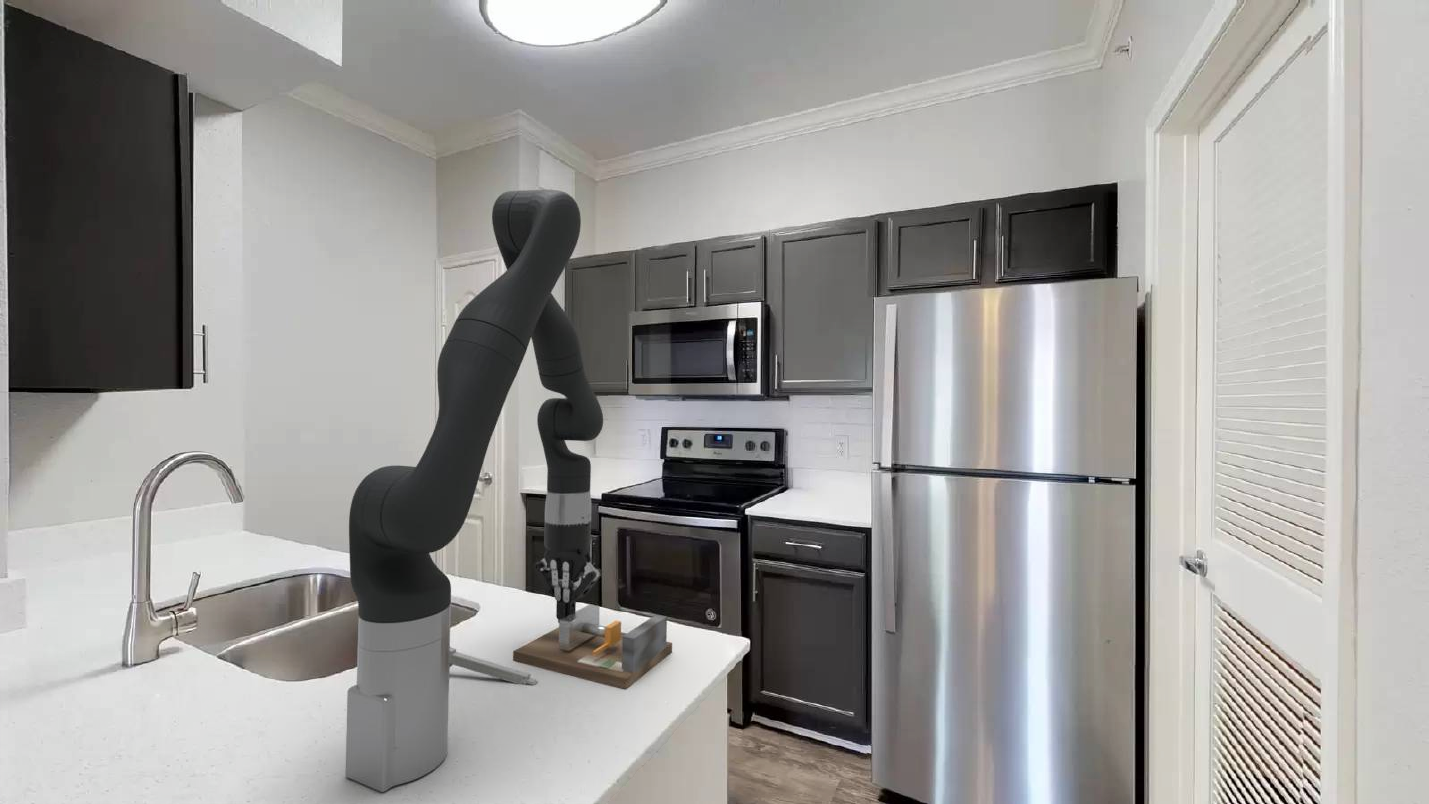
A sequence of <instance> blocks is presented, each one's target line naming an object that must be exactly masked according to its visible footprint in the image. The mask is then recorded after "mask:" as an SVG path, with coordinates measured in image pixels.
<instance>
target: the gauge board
mask: <svg viewBox="0 0 1429 804" xmlns="http://www.w3.org/2000/svg"><path fill="white" fill-rule="evenodd" d="M667 620H668V617H667V615H666V616H665V615H661V614H654V615H653V616H652V617H650V618H648V619H647V620H646V621H644V622H643V623H640V625H638V626H635V628H632V629H631V630H630V631H629V632H622V631H621V640H620V641H619V642H617V643H616V644H614V645H613V646H611V647H608V648H606V649H605V650H603V651H602V652H600V653H599V654H597V655H596V656H594V655H593V651H594V650H596V649H598V648H599V647H601V646H602V645H604V644H605V637H600V636H596V635H595V636H593V637H591V638H590V639H588V640H586V641H585V642H583V643H581V644H580V645H578V646H576V647H575V648H573V649H571V650H569V651H567V650H563V649H559V626H558V627H556V628H555V629H552V630H551V631H549V632H547V633H545V634H543V635H541V636H539V637H537V638H535V639H533V640H531V641H529V642H527V643H526V644H524V645H522V646H520V647H518V648H517V649H514V650H513V651H512V661H514V662H517V663H521V664H525V665H529V666H533V667H537V668H541V669H544V670H548V671H552V672H557V673H560V674H563V675H569V676H571V677H572V676H573V677H576V678H580V679H584V680H586V681H587V680H588V681H592V682H594V683H600V684H604V685H606V686H607V685H608V686H610V687H611V686H612V687H616V688H620V689H623V690H627V689H628V688H629V687H631V686H632V685H633V684H634V683H636V682H637V681H638V680H639V679H641V678H642V677H643V676H644V675H645V674H647V673H648V672H650V671H651V669H653V668H654V667H655V666H657V665H658V664H659V663H660V662H661V661H662V660H664V659H665V658H666V657H668V656H669V655H670V654H672V653H673V643H672V642H670V641H667V634H668V633H667V632H668V631H667V629H668V628H667V626H668V625H667V624H668V621H667Z"/></svg>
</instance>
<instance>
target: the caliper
mask: <svg viewBox="0 0 1429 804" xmlns="http://www.w3.org/2000/svg"><path fill="white" fill-rule="evenodd" d="M452 666H457V667H460V668H462V669H467V670H470V671H473V672H476V673H480V674H483V675H487V676H489V677H493V678H496V679H500V680H503V681H505V682H508V683H512V684H515V685H531V686H535V685H536V684H537V683H538V682H539V681H538V680H537V679H536V678H532V677H531V673H529V672H526V671H521V670H518V669H515V668H512V667H507V666H505V665H501V664H498V663H494V662H491V661H489V660H485V659H481V658H478V657H475V656H471V655H467V654H465V653H462V652H457V649H456V648H454V647H451V646H450V659H449V668H452Z"/></svg>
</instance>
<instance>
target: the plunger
mask: <svg viewBox="0 0 1429 804" xmlns="http://www.w3.org/2000/svg"><path fill="white" fill-rule="evenodd" d="M558 627H559V649H563V650H567V651H569V650H571V649H573V648H575V647H576V646H578V645H580V644H581V643H583V642H585V641H586V640H588V639H590V638H591V637H593V636H595V635H596V636H600V637H605V627H606V626H604V625H600V606H599V605H594V604H588V605H586V606H583V607H581V608H580V609H578V610H576V611H575V612H574V613H572V614H570V615H568V616H566V617H564V618H562V619H560V620H559V623H558Z"/></svg>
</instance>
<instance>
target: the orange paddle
mask: <svg viewBox="0 0 1429 804" xmlns="http://www.w3.org/2000/svg"><path fill="white" fill-rule="evenodd" d="M621 632H622V621H620V620H614V621H612V622H611V623H610V624H607V625H606V626H605V644H604V645H602V646H601V647H599V648H598V649H596V650H594V651H593V655H594V656H596V655H597V654H599V653H600V652H602V651H603V650H605V649H606V648H608V647H611V646H613V645H614V644H616V643H617V642H619V641H620V640H621Z"/></svg>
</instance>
